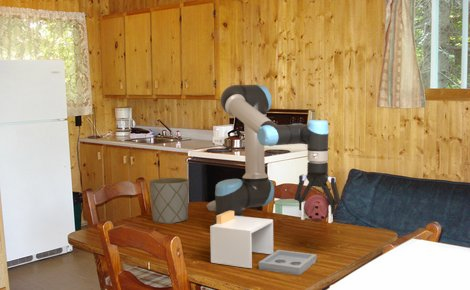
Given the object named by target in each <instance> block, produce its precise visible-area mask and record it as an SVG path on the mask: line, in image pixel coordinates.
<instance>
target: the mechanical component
mask: <svg viewBox="0 0 470 290" xmlns="http://www.w3.org/2000/svg"><path fill="white" fill-rule="evenodd" d="M304 202H305V205H304V210H305V213H306V217H307V218H308V219H309V220H311V221H312V222H315V223H317V222H318V223H319V222H322V221H324V220H326V219H328V218H329V205H331V204H330V202H329V200H328V198H327V196H326V195H323V194H320V193H319V194H317V193H315V194H313V195H310V196H309V197H307V199H306V200H305V201H304Z"/></svg>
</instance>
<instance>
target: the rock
mask: <svg viewBox="0 0 470 290" xmlns="http://www.w3.org/2000/svg"><path fill="white" fill-rule="evenodd" d="M206 207H207V210H208V211H213V212H216V199H214V200H212V201H210V202H209V203H207V205H206ZM245 210H246V208H242V211H245Z"/></svg>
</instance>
